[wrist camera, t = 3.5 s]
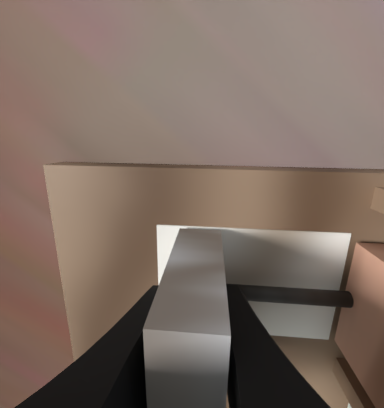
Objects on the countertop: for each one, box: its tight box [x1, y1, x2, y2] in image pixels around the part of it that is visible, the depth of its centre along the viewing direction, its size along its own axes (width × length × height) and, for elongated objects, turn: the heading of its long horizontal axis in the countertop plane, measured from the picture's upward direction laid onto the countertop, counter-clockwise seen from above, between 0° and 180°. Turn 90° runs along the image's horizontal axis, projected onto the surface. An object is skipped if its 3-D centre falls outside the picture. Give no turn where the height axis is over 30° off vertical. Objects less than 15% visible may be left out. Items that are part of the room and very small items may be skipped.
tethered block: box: [143, 228, 384, 408], centre depth 7 cm, size 11×5×5 cm, turn 89°
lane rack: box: [43, 162, 384, 408], centre depth 10 cm, size 19×17×4 cm
